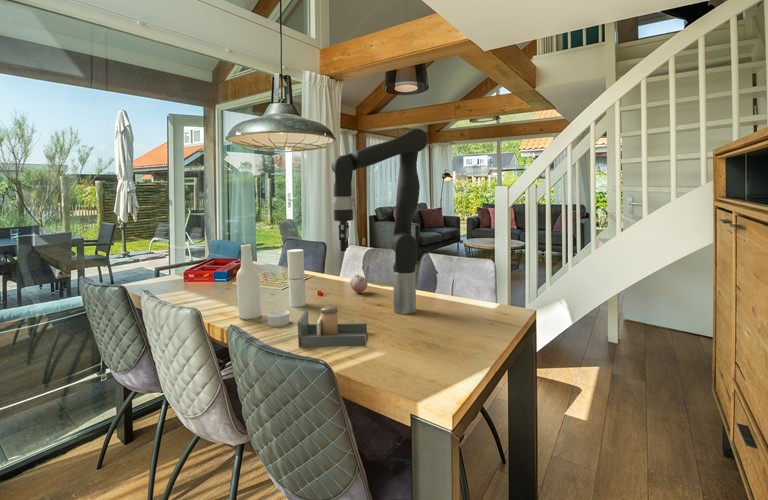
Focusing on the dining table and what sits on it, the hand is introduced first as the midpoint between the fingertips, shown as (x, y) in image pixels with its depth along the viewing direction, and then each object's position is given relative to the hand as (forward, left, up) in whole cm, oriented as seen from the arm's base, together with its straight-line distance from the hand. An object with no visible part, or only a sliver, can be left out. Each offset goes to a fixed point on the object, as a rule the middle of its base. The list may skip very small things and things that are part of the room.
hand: (344, 249), depth 157 cm
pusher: (+7, +24, -27) cm, 37 cm away
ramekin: (+26, +6, -28) cm, 39 cm away
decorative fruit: (-3, -39, -28) cm, 48 cm away
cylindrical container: (+24, -20, -28) cm, 42 cm away
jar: (+4, +24, -27) cm, 37 cm away
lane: (+2, +24, -28) cm, 37 cm away
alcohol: (+40, -3, -28) cm, 49 cm away
